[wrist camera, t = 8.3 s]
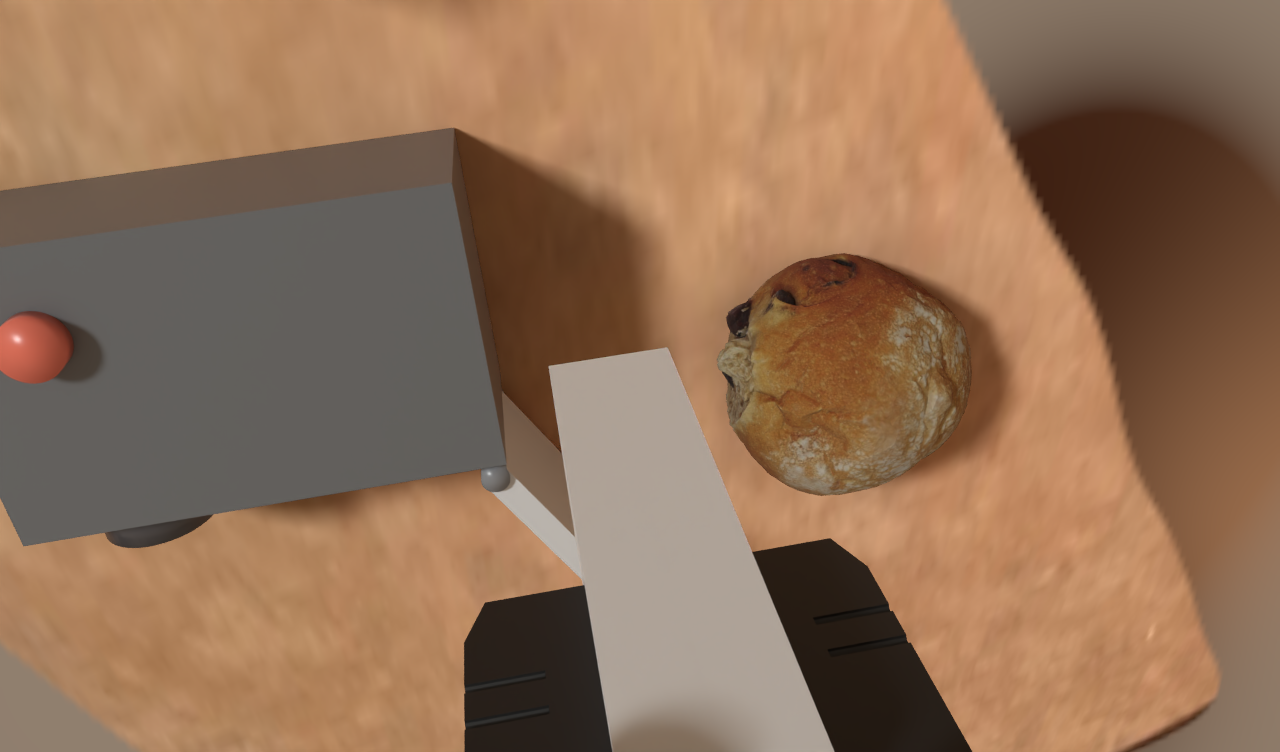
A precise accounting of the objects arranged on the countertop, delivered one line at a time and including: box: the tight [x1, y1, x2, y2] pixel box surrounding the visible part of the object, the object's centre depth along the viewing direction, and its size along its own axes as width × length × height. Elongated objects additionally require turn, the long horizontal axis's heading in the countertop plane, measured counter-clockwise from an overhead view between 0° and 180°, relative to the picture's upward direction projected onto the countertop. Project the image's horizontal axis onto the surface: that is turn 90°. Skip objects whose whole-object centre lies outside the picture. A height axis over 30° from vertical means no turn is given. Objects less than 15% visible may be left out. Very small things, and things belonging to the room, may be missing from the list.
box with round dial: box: [0, 128, 507, 548], centre depth 35 cm, size 12×16×8 cm
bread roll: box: [717, 253, 972, 496], centre depth 41 cm, size 10×10×8 cm
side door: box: [481, 390, 582, 579], centre depth 40 cm, size 2×10×6 cm, turn 37°
